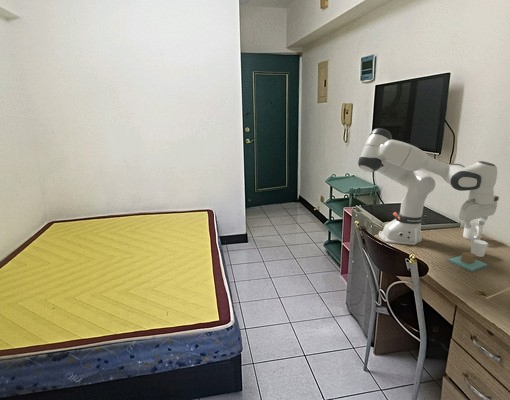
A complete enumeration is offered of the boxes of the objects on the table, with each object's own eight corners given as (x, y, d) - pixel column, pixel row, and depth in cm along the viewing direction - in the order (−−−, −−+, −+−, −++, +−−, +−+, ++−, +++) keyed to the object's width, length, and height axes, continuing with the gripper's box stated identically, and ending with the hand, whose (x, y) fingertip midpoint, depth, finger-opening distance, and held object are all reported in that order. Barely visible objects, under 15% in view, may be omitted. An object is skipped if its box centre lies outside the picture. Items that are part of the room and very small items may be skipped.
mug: (485, 244, 173) (489, 226, 170) (468, 243, 175) (471, 225, 172) (476, 235, 184) (480, 218, 181) (460, 234, 186) (463, 217, 183)
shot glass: (485, 259, 158) (488, 246, 156) (469, 255, 161) (471, 243, 159) (485, 253, 163) (487, 240, 161) (469, 250, 167) (471, 238, 165)
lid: (471, 271, 146) (473, 261, 145) (448, 260, 156) (450, 251, 154) (486, 265, 151) (488, 256, 149) (463, 255, 160) (465, 247, 159)
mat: (472, 273, 145) (472, 272, 145) (445, 261, 156) (445, 260, 156) (489, 266, 151) (490, 266, 150) (462, 255, 162) (462, 254, 162)
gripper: (471, 202, 138) (466, 232, 142) (502, 196, 146) (495, 225, 150) (457, 199, 144) (452, 227, 148) (487, 193, 151) (482, 220, 156)
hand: (474, 226), depth 149 cm, fingers open, 8 cm apart
